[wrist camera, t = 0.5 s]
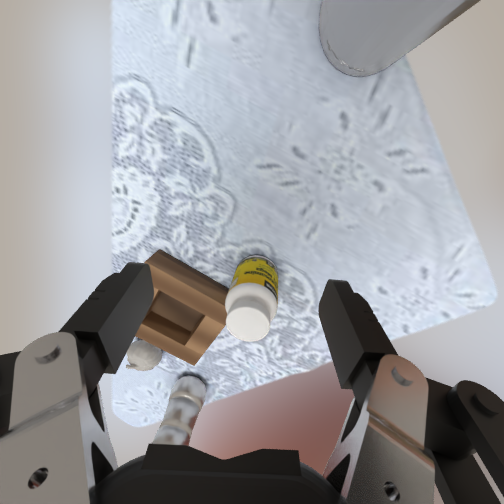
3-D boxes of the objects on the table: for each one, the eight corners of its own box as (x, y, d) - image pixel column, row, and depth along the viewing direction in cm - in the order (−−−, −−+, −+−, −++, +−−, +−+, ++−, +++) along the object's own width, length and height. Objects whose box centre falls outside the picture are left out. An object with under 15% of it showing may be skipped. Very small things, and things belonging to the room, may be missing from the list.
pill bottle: (286, 266, 33) (289, 318, 23) (265, 296, 35) (259, 355, 25) (248, 246, 32) (234, 291, 22) (229, 278, 34) (209, 331, 25)
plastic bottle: (187, 365, 44) (123, 518, 26) (215, 382, 45) (173, 539, 27) (171, 381, 46) (103, 529, 28) (198, 396, 48) (150, 548, 30)
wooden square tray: (159, 249, 34) (145, 261, 30) (240, 295, 36) (235, 312, 32) (130, 309, 39) (115, 326, 36) (201, 346, 41) (194, 365, 38)
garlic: (132, 347, 44) (114, 371, 39) (139, 329, 41) (121, 352, 37) (161, 360, 44) (147, 385, 39) (169, 343, 42) (156, 367, 37)
